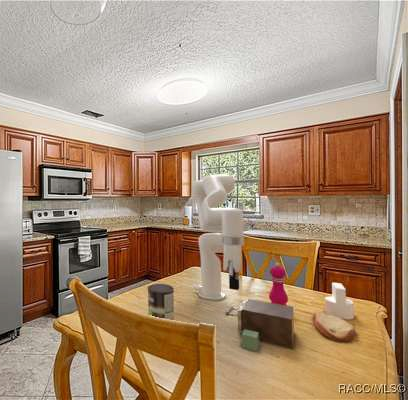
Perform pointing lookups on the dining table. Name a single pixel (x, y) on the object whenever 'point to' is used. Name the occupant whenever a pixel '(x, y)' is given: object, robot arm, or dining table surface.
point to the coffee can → (161, 301)
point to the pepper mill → (278, 285)
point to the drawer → (240, 318)
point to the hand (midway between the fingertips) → (234, 288)
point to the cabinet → (270, 322)
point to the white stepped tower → (339, 303)
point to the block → (250, 340)
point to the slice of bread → (334, 327)
